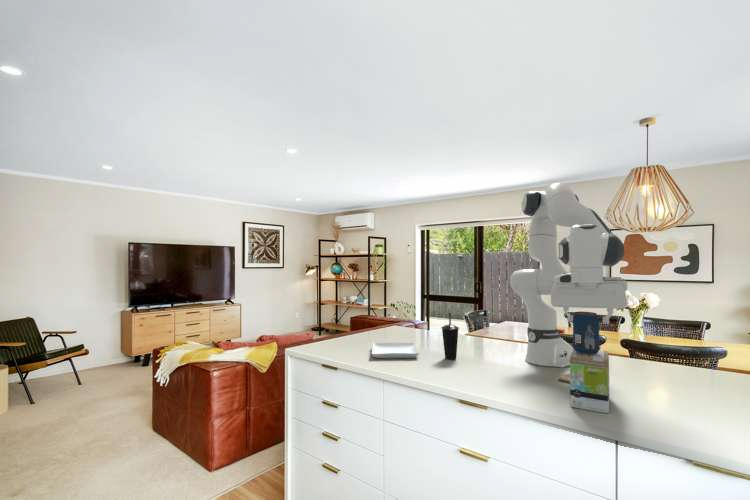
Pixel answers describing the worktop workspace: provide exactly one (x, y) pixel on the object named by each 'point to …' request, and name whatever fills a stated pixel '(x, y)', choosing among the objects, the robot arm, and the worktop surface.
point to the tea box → (589, 381)
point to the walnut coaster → (565, 378)
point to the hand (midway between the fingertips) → (587, 322)
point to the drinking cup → (450, 340)
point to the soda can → (586, 333)
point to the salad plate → (394, 350)
